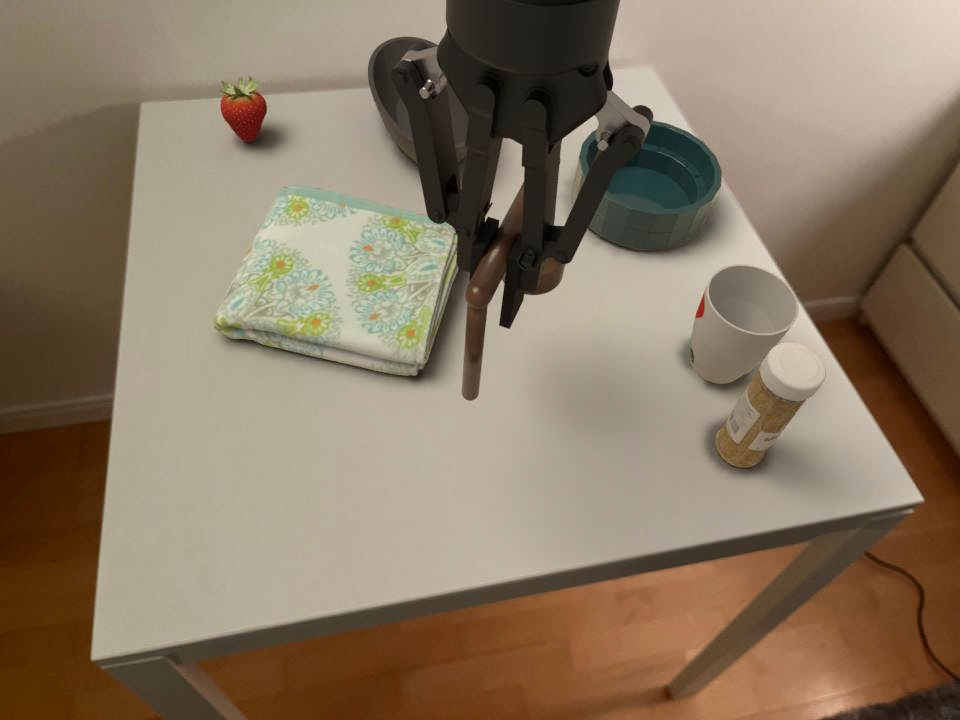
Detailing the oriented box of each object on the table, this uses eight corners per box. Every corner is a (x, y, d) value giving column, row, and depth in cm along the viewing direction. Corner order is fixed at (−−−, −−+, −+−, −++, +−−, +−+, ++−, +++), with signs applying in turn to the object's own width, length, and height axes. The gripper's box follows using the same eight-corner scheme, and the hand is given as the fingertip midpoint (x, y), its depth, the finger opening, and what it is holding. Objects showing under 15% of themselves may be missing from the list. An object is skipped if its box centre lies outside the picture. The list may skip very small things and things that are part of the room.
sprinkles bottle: (758, 476, 66) (825, 396, 55) (708, 458, 67) (764, 376, 56) (765, 435, 69) (830, 350, 58) (717, 418, 69) (772, 332, 58)
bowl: (444, 74, 98) (445, 30, 93) (500, 183, 86) (505, 139, 81) (355, 88, 95) (351, 43, 90) (400, 202, 84) (398, 158, 78)
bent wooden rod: (500, 418, 51) (517, 310, 41) (431, 393, 52) (431, 281, 42) (571, 258, 60) (598, 139, 50) (511, 239, 61) (526, 118, 51)
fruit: (270, 123, 90) (258, 64, 84) (275, 151, 87) (263, 92, 81) (227, 128, 89) (211, 68, 83) (231, 156, 86) (215, 97, 80)
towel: (428, 387, 69) (428, 355, 65) (215, 339, 71) (201, 306, 67) (471, 251, 80) (474, 216, 76) (285, 212, 82) (277, 176, 77)
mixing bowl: (731, 234, 84) (749, 194, 79) (611, 268, 80) (623, 228, 75) (660, 149, 92) (673, 108, 87) (548, 176, 88) (555, 135, 83)
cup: (708, 318, 76) (741, 250, 68) (773, 367, 73) (816, 302, 65) (658, 359, 73) (688, 293, 65) (724, 412, 70) (764, 350, 62)
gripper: (731, -55, 31) (614, 302, 50) (413, -132, 33) (418, 237, 53) (694, 34, 27) (583, 387, 46) (335, -60, 29) (371, 312, 49)
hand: (495, 306), depth 49 cm, fingers closed on bent wooden rod, 2 cm apart
